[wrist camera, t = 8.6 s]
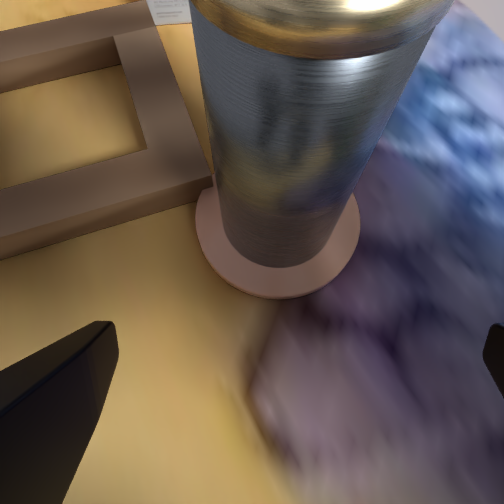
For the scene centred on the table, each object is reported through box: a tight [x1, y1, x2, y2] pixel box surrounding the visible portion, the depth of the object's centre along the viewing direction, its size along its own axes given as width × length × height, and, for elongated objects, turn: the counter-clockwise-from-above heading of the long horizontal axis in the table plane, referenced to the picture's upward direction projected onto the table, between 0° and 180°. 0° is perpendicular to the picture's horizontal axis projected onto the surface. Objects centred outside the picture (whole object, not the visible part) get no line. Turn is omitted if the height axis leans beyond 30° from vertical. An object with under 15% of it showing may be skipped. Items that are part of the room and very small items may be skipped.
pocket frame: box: [0, 0, 214, 260], centre depth 19 cm, size 13×13×2 cm
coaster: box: [195, 173, 360, 300], centre depth 18 cm, size 8×8×1 cm
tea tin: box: [188, 0, 454, 268], centre depth 12 cm, size 6×6×12 cm
